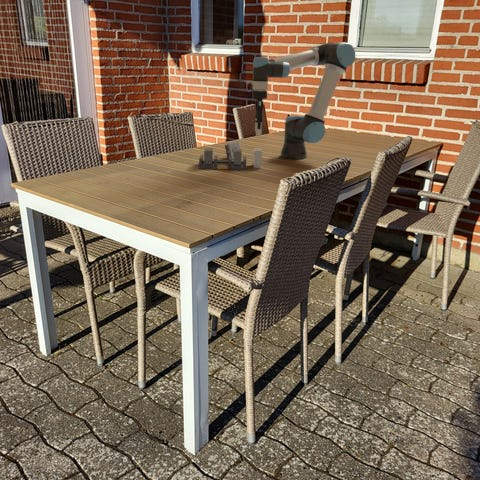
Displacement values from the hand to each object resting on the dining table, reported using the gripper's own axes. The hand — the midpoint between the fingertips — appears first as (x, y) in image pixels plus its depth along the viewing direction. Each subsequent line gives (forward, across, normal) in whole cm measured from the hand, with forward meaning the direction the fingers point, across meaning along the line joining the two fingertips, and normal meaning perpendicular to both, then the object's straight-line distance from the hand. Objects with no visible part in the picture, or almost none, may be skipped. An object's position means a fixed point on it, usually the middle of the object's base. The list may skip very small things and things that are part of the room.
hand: (258, 133), depth 244 cm
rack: (+17, +2, -18) cm, 25 cm away
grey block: (+17, 0, 0) cm, 17 cm away
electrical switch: (+17, -19, -13) cm, 29 cm away
